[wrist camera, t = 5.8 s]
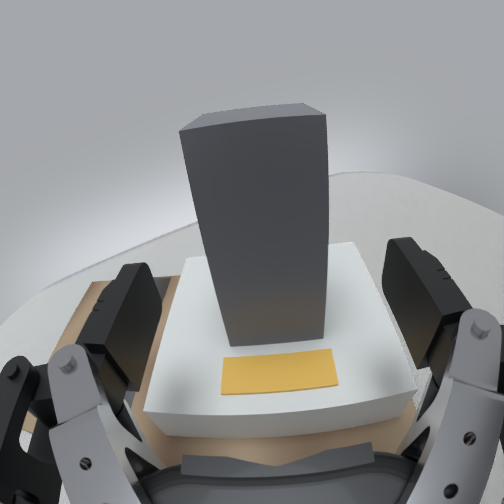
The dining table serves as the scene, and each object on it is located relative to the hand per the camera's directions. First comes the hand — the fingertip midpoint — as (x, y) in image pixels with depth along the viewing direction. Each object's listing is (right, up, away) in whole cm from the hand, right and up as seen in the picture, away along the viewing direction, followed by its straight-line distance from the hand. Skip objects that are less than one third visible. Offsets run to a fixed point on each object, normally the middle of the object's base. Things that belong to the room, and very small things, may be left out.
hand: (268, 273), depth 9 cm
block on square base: (+1, -5, +8) cm, 9 cm away
